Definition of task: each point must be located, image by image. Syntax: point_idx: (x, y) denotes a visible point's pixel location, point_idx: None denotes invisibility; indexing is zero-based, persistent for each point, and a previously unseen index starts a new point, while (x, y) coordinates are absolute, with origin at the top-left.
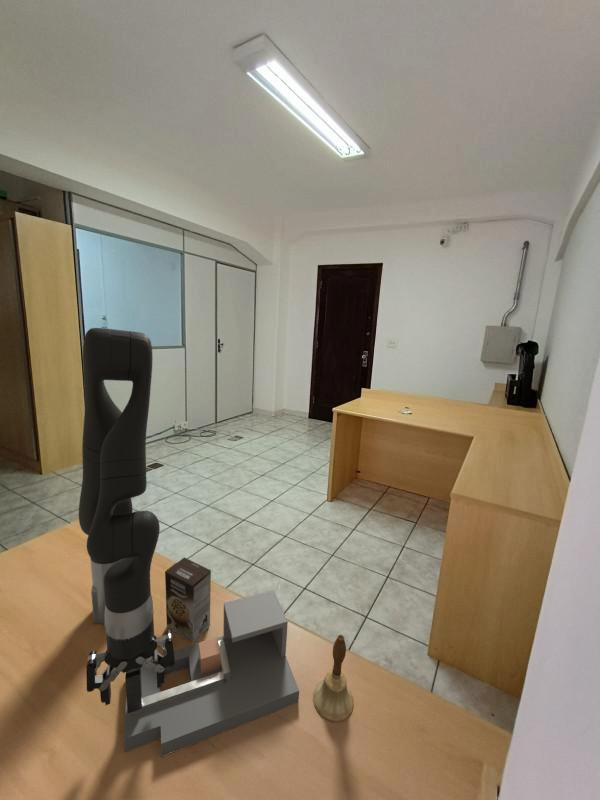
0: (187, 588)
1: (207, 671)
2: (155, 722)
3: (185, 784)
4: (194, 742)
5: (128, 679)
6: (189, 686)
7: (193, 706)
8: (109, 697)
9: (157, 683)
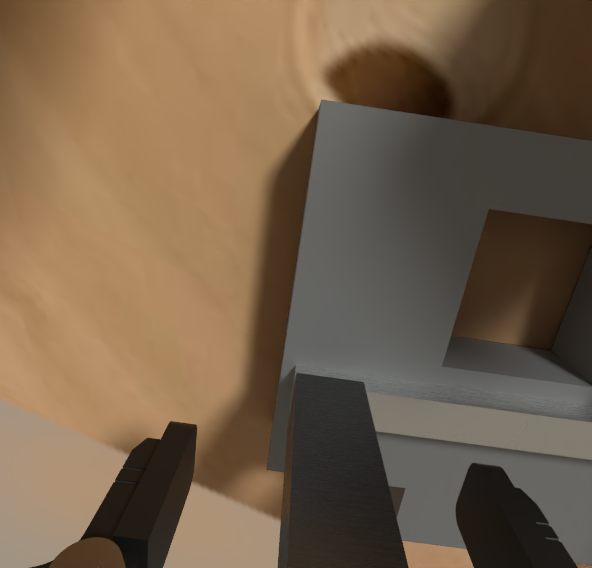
0: None
1: None
2: (390, 469)
3: (420, 564)
4: None
5: None
6: (586, 442)
7: (549, 484)
8: (177, 520)
9: (473, 560)
